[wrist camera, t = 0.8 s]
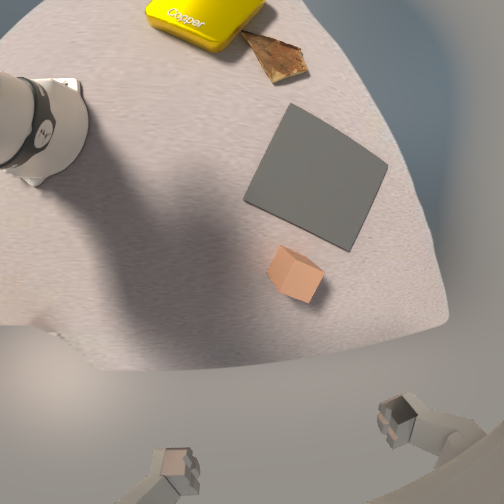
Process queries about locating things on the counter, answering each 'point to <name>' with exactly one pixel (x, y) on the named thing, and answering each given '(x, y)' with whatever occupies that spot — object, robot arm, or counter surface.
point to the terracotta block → (294, 274)
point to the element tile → (203, 20)
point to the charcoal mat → (316, 178)
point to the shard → (276, 56)
